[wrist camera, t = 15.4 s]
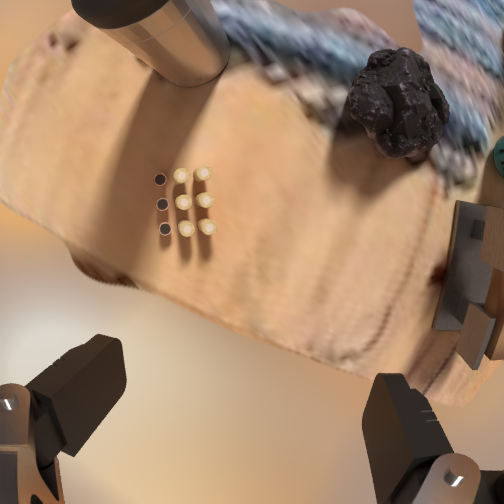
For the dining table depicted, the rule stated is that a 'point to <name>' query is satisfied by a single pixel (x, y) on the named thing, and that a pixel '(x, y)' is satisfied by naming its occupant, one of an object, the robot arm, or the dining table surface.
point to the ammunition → (187, 202)
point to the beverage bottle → (499, 156)
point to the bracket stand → (471, 278)
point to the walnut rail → (496, 315)
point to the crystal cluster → (399, 103)
